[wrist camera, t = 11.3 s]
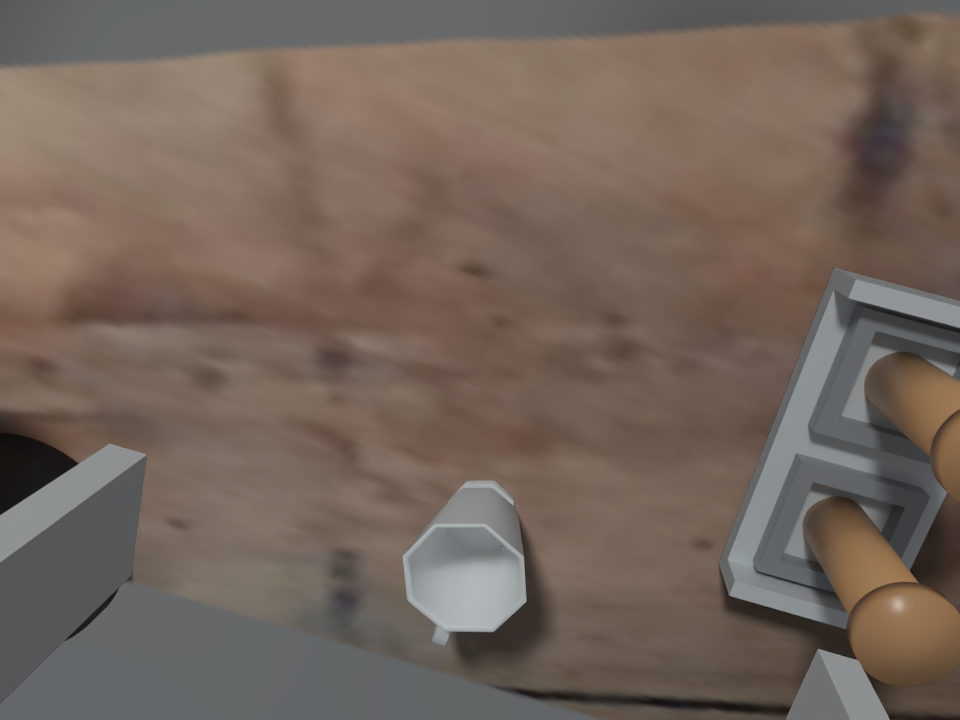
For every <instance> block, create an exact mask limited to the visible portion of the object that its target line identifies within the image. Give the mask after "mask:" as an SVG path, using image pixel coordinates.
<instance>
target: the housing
mask: <svg viewBox="0 0 960 720" xmlns="http://www.w3.org/2000/svg"><path fill="white" fill-rule="evenodd" d="M895 352H910V353H914V354H917V355H919V356H921V357H922V358H924V359H925V360H927V361H929V362H930V363H932V364H933V365H935V366H937V367H938V368H940V369H941V370H943V371H945V372H946V373H948V374H950V375H951V376H953V377H954V378H956V379H958V380H959V381H960V301H958V300H954V299H950V298H947V297H943V296H939V295H935V294H931V293H928V292H924V291H920V290H916V289H913V288H909V287H905V286H901V285H897V284H894V283H890V282H886V281H882V280H879V279H875V278H871V277H867V276H863V275H860V274H856V273H852V272H848V271H845V270H841V269H837V268H834V269H833V272H832V274H831V277H830V279H829V282H828V284H827V287H826V290H825V292H824V295H823V297H822V300H821V302H820V305H819V308H818V310H817V313H816V315H815V318H814V320H813V323H812V325H811V328H810V331H809V333H808V336H807V338H806V341H805V343H804V346H803V348H802V351H801V354H800V356H799V359H798V361H797V364H796V366H795V369H794V372H793V374H792V377H791V379H790V382H789V384H788V387H787V389H786V392H785V395H784V397H783V400H782V402H781V405H780V407H779V410H778V412H777V415H776V418H775V420H774V423H773V425H772V428H771V430H770V433H769V436H768V438H767V441H766V443H765V446H764V448H763V451H762V453H761V456H760V459H759V461H758V464H757V466H756V469H755V471H754V474H753V476H752V479H751V482H750V484H749V487H748V489H747V492H746V494H745V497H744V500H743V502H742V505H741V507H740V510H739V512H738V515H737V517H736V520H735V523H734V525H733V528H732V530H731V533H730V535H729V538H728V540H727V543H726V546H725V548H724V551H723V553H722V556H721V558H720V561H719V565H720V569H721V572H722V575H723V578H724V581H725V584H726V587H727V591H728V594H729V596H732V597H736V598H739V599H743V600H746V601H749V602H753V603H756V604H760V605H763V606H767V607H770V608H774V609H777V610H781V611H784V612H788V613H791V614H795V615H798V616H802V617H805V618H809V619H812V620H816V621H819V622H822V623H826V624H829V625H833V626H836V627H840V628H843V629H846V628H847V621H848V617H849V616H848V614H847V612H846V610H845V608H844V607H843V605H842V603H841V601H840V599H839V598H838V596H837V594H836V592H835V590H834V589H833V587H832V585H831V583H830V581H829V579H828V578H827V576H826V574H825V572H824V570H823V569H822V567H821V565H820V563H819V561H818V560H817V558H816V556H815V554H814V552H813V550H812V549H811V547H810V545H809V543H808V541H807V540H806V538H805V536H804V533H803V528H802V523H803V519H804V516H805V514H806V512H807V511H808V509H809V508H810V507H811V506H812V505H813V504H815V503H816V502H818V501H820V500H822V499H824V498H828V497H836V496H839V497H845V498H849V499H851V500H853V501H855V502H857V503H858V504H859V505H860V506H861V507H862V508H863V509H864V511H865V512H866V513H867V515H868V516H869V517H870V519H871V520H872V521H873V523H874V524H875V525H876V527H877V528H878V529H879V531H880V532H881V533H882V535H883V536H884V537H885V539H886V540H887V541H888V543H889V544H890V545H891V547H892V548H893V549H894V551H895V552H896V553H897V555H898V556H899V557H900V559H901V560H902V561H903V563H904V564H905V565H906V567H907V568H908V569H909V571H910V569H911V567H912V565H913V563H914V561H915V558H916V556H917V554H918V552H919V550H920V548H921V546H922V544H923V542H924V540H925V538H926V535H927V533H928V531H929V529H930V527H931V525H932V523H933V521H934V519H935V517H936V515H937V512H938V510H939V508H940V506H941V504H942V502H943V500H944V498H945V496H946V494H947V491H946V490H944V489H943V488H942V486H941V485H940V484H939V483H938V481H937V480H936V478H935V477H934V474H933V472H932V468H931V464H930V457H929V456H928V455H927V454H926V453H925V452H924V451H922V450H921V449H920V448H919V447H918V446H917V445H916V444H915V443H914V442H912V441H911V440H910V439H909V438H908V437H907V436H906V435H905V434H903V433H902V432H901V431H900V430H899V429H898V428H897V427H896V426H894V425H893V424H892V423H891V422H890V421H889V420H888V419H887V418H885V417H884V416H883V415H882V414H881V413H880V412H879V411H878V410H877V409H875V408H874V407H873V406H872V405H871V404H870V403H869V401H868V399H867V397H866V395H865V391H864V381H865V377H866V374H867V372H868V371H869V369H870V368H871V366H872V365H873V364H874V363H875V362H876V361H877V360H879V359H880V358H882V357H883V356H885V355H888V354H891V353H895Z"/></svg>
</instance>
